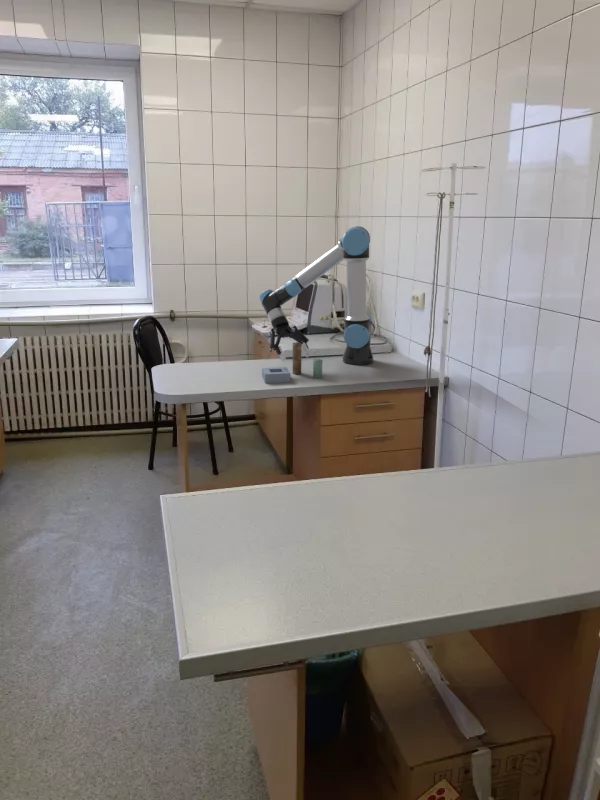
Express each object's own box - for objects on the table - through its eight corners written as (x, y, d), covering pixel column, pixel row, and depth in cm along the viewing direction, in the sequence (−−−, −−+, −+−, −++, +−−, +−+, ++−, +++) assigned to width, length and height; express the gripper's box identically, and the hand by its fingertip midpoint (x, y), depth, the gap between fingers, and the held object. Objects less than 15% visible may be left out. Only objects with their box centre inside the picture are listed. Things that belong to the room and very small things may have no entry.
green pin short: (321, 375, 280) (321, 358, 278) (322, 378, 277) (323, 360, 274) (312, 376, 280) (312, 358, 277) (314, 378, 276) (314, 361, 273)
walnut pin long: (300, 371, 286) (300, 342, 282) (302, 374, 283) (302, 344, 278) (291, 372, 286) (292, 342, 281) (293, 374, 282) (293, 344, 278)
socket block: (286, 375, 280) (286, 366, 279) (290, 382, 270) (290, 373, 269) (262, 376, 278) (262, 367, 277) (265, 383, 268) (265, 374, 267)
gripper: (296, 322, 298) (314, 358, 291) (252, 327, 285) (270, 366, 277) (303, 312, 293) (322, 349, 286) (258, 317, 279) (276, 356, 272)
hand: (296, 357), depth 281 cm, fingers open, 13 cm apart
